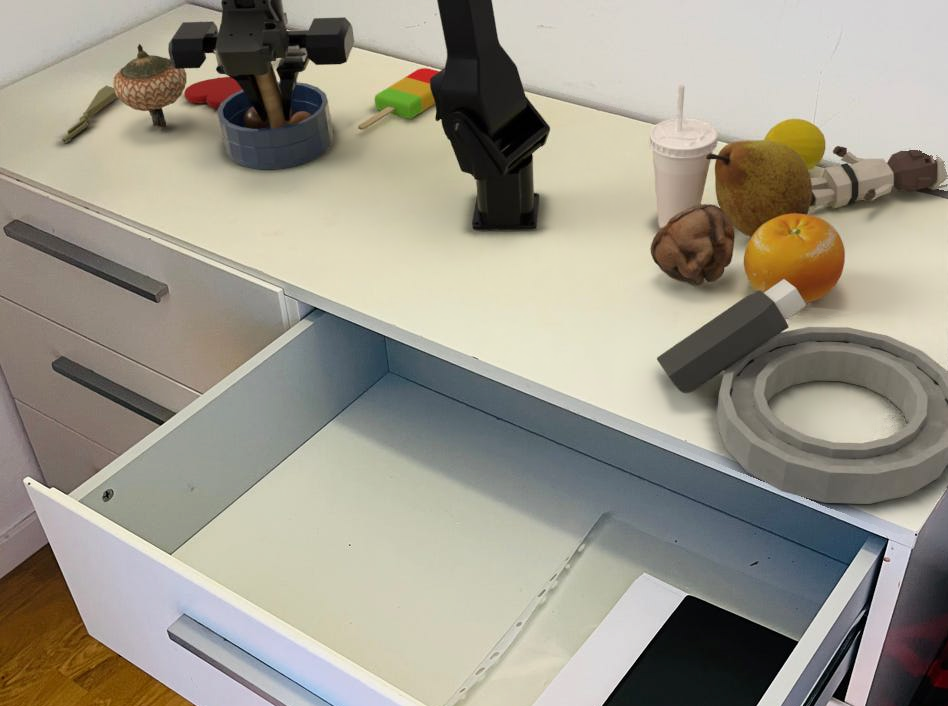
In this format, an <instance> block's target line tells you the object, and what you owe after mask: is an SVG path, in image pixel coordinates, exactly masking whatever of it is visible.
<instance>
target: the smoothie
mask: <svg viewBox="0 0 948 706" xmlns="http://www.w3.org/2000/svg"><path fill="white" fill-rule="evenodd" d="M684 100H685V85H684V84H680V85H678V87H677V102H676V103H677V104H676V116H675V118H670V119H666V120H663V121H660V122H658V123H656V124H655V125H654V126H652V127H651V128H650V131H649V139H648V145H649V147H650V149H651V150H652V162H653V171H654V172H653V173H654V186H655V198H656V199H655V200H656V211H657V223H658V228H659V230H660V229H661V228H662V227H664V226H665V225H666V224H667V223H668V222H669V220H670V219H671V218H672V217H674V216H675V215H676V214H678V213H680V212H682V211H684V210H686V209H688V208H691V207H694V206H698V205H701V204H702V202H703V201H702V200H703V195H704V192H705V187H706V182H707V179H708V173H709V168H710V165H711V160H712V159H706V157H707V155H708V154H713V151H714V150H715V149H717V147H718V145H719V144H718V143H719V142H718V131H717V129H716V127H715V126H714V125H712V124H711V123H709V122H707V121H704V120H701V119H696V118H690V117H683V116H684V102H685V101H684Z"/></svg>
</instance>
